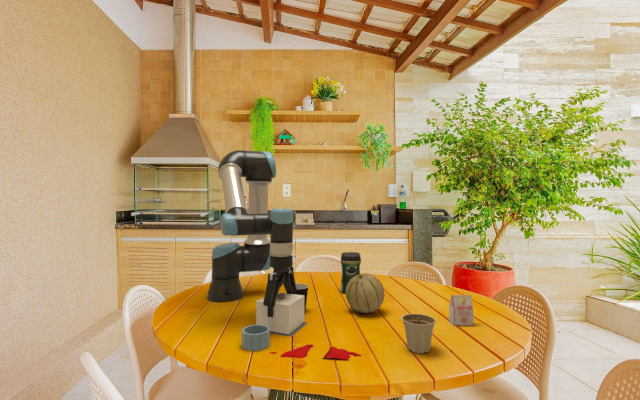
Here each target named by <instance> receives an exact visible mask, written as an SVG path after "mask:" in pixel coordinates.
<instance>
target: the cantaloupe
mask: <svg viewBox="0 0 640 400" xmlns="http://www.w3.org/2000/svg"><path fill="white" fill-rule="evenodd" d="M345 298H346V301H347V303H348V305H349V306H350V309H351V308H352V309H353V310H354V311H356V312H358V313H361V314H371V313H374V312H375V311H377V310H378V309H379V308H381V306H382V305H383V303H384V300H385V289H384V286H383V283H382V282H381V280H380V279H379V278H377V277H376V276H375V275H373V274H370V273H360V274H359V275H356V276H355V277H353V278H352V279H350V281H349V282H348V284H347V287H346V293H345Z"/></svg>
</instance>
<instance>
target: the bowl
mask: <svg viewBox="0 0 640 400" xmlns="http://www.w3.org/2000/svg"><path fill="white" fill-rule="evenodd" d="M270 338H271V333H270V327H268V326H266V325H261V324H258V325H256V324H250V325H247V326H245V327H243V328H242V329H241V348H242V349H243V350H244V351H251V352H258V351H259V352H260V351H262V350H266V349H267V348H269V347H270V346H271V345H270V344H271V339H270Z"/></svg>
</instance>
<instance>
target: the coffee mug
mask: <svg viewBox="0 0 640 400" xmlns="http://www.w3.org/2000/svg"><path fill="white" fill-rule="evenodd" d="M296 288H297V291H296V295H304V296H305V297H304V314H305V313H306V310H307V302H308V293H309V284H305V283H296ZM285 293H287V292H286V291H285Z"/></svg>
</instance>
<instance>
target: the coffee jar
mask: <svg viewBox="0 0 640 400" xmlns="http://www.w3.org/2000/svg"><path fill="white" fill-rule="evenodd" d="M361 263H362V258H361V253H360V252H356V251H354V252H353V251H347V252H342V253H341V256H340V264H341V281H340V292H342V293H343V294H346V287H347V284H348V282H349V281H350V279H352V278H353V277H355V276H356V275H359V274H361V271H360V270H361V269H360V266H361Z"/></svg>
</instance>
